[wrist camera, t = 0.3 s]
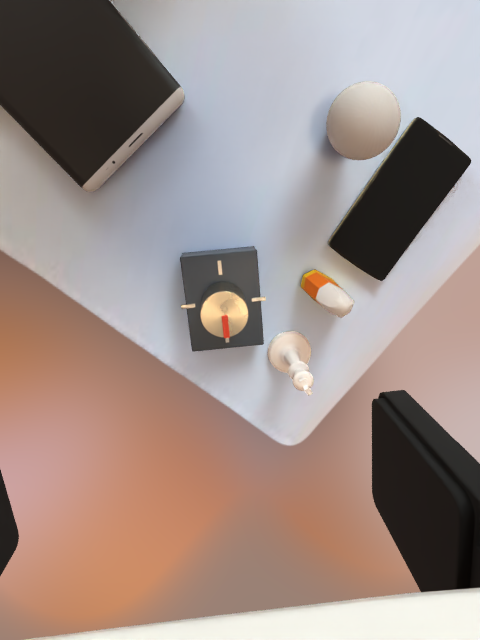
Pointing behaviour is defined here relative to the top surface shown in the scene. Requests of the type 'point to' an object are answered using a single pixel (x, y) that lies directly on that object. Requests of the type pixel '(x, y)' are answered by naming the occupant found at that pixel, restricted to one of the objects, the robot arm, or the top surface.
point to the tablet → (82, 83)
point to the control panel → (222, 268)
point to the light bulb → (363, 120)
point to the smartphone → (399, 199)
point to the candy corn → (327, 293)
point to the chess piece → (292, 358)
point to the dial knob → (224, 309)
